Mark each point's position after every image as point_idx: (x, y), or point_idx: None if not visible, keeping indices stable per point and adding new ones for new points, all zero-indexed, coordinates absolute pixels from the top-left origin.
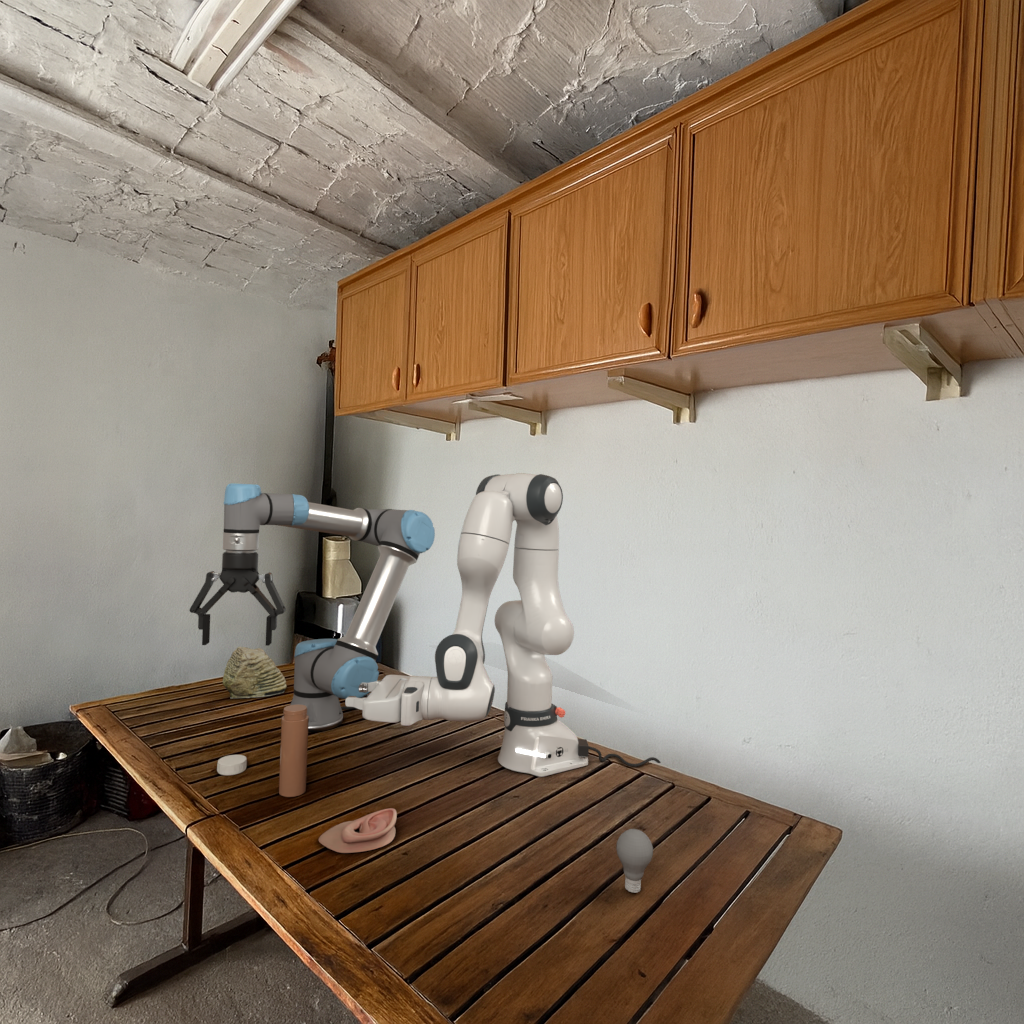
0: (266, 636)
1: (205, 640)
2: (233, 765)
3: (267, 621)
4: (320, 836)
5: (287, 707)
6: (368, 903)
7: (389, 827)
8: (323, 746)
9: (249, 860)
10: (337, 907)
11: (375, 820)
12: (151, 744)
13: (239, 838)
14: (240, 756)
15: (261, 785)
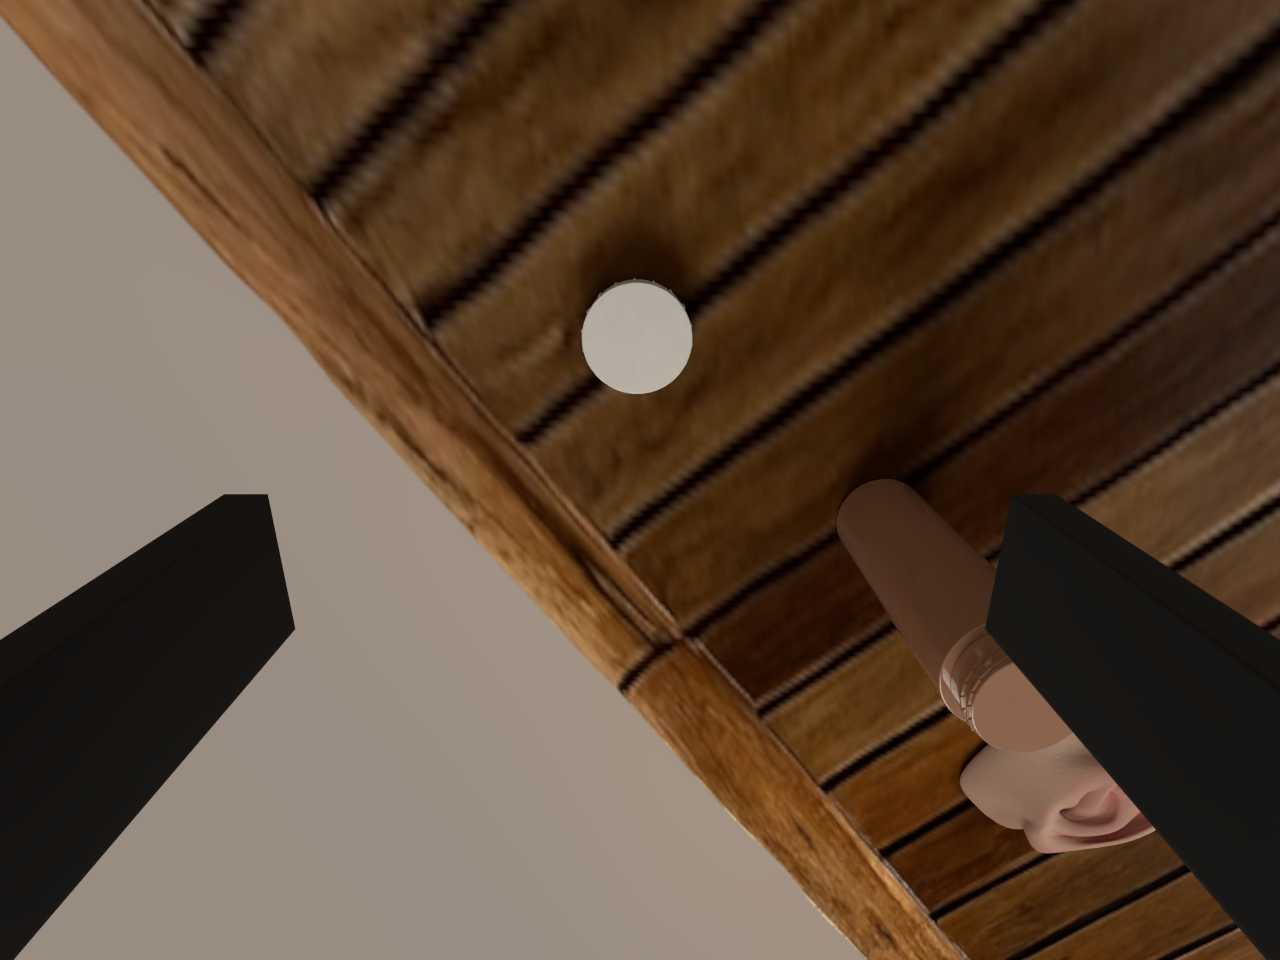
0: (1055, 701)
1: (262, 660)
2: (655, 390)
3: (1240, 908)
4: (966, 778)
5: (988, 699)
6: (1043, 951)
7: (1153, 830)
8: (1000, 80)
9: (805, 828)
10: (986, 956)
11: None
12: (168, 6)
13: (765, 751)
14: (661, 304)
15: (772, 471)
